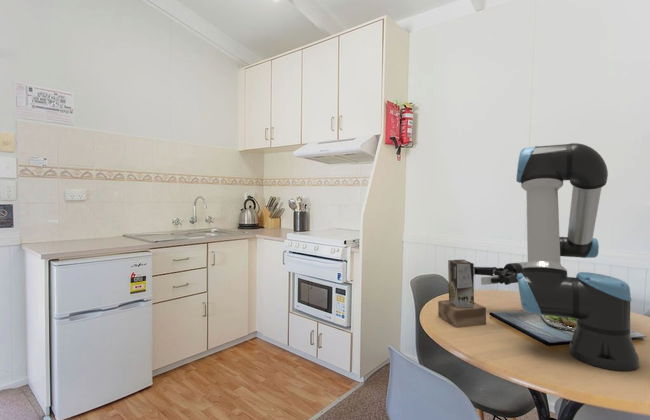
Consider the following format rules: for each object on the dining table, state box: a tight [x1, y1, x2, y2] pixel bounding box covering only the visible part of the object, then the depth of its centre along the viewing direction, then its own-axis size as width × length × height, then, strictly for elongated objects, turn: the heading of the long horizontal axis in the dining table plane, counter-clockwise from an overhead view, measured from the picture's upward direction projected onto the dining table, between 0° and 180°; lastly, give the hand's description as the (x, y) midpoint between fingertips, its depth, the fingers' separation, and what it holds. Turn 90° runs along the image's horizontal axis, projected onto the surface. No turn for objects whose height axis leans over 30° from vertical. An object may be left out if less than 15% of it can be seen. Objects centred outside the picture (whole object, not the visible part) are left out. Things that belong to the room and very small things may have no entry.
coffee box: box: [447, 259, 475, 308], centre depth 129 cm, size 9×6×16 cm
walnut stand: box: [437, 299, 487, 328], centre depth 129 cm, size 12×12×6 cm
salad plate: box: [540, 315, 577, 332], centre depth 122 cm, size 19×18×5 cm
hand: (469, 276), depth 130 cm, fingers open, 13 cm apart
